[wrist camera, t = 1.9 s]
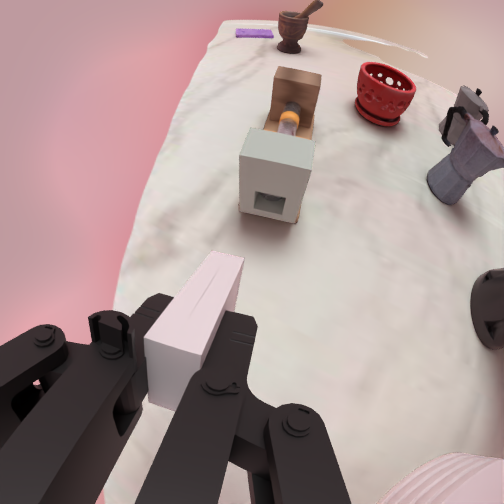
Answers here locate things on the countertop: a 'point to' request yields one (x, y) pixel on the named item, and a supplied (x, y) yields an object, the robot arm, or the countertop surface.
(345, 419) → the countertop surface
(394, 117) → the plant pot
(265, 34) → the sponges
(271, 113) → the pipe rig
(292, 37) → the mortar and pestle
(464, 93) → the coffeepot
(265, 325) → the countertop surface
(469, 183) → the moka pot
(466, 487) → the plate stack
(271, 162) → the sleeve
